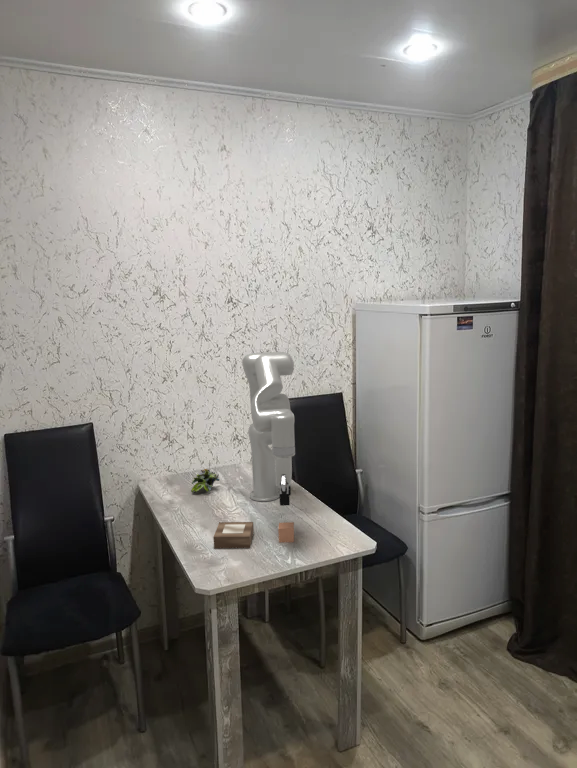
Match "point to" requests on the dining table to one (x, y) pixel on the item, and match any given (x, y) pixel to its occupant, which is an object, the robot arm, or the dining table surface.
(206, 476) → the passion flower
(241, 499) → the dining table surface
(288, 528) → the terracotta cube
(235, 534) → the walnut frame
